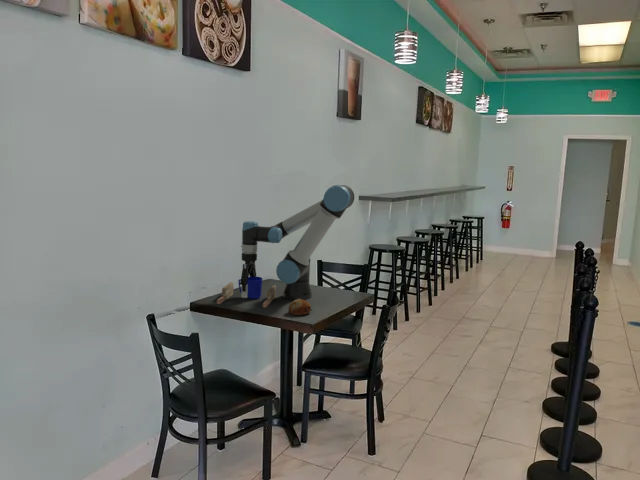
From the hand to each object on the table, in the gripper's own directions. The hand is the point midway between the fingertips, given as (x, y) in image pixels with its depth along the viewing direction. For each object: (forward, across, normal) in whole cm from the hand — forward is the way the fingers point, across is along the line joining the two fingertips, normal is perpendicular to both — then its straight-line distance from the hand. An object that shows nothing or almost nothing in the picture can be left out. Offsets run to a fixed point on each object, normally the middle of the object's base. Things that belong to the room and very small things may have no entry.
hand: (248, 294), depth 259 cm
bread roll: (+3, +20, +32) cm, 38 cm away
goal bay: (+2, +10, 0) cm, 10 cm away
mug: (+2, -3, 0) cm, 4 cm away
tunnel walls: (+2, -2, 0) cm, 3 cm away
